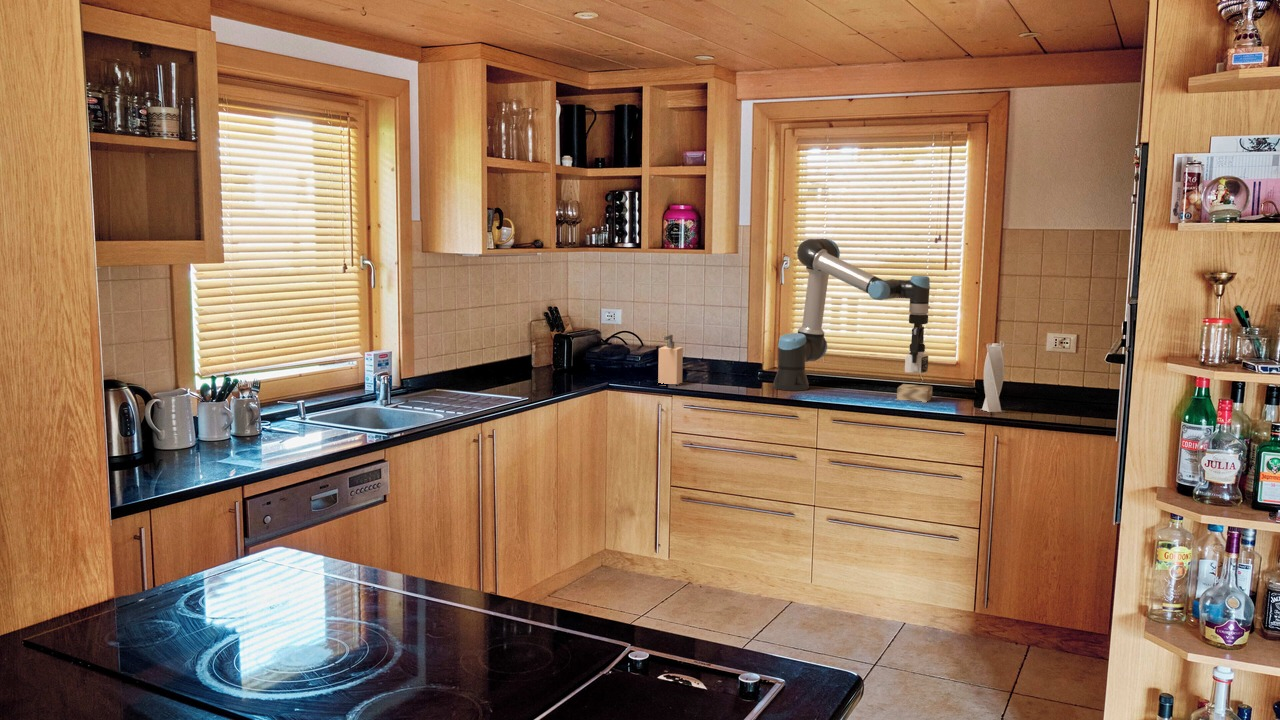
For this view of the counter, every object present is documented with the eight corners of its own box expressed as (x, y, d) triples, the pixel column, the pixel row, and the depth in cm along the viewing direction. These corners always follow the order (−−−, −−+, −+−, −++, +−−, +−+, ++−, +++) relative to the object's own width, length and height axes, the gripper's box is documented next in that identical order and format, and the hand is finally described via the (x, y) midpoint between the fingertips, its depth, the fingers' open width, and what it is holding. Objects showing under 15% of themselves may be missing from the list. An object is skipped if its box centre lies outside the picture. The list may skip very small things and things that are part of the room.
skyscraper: (1007, 413, 383) (1012, 340, 379) (988, 414, 381) (993, 340, 377) (995, 409, 391) (1000, 338, 387) (976, 410, 389) (981, 338, 386)
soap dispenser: (663, 382, 449) (664, 333, 446) (682, 383, 446) (683, 334, 443) (655, 386, 437) (655, 336, 434) (673, 387, 434) (674, 337, 431)
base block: (896, 400, 410) (897, 387, 409) (902, 395, 420) (903, 383, 420) (926, 402, 404) (927, 390, 404) (931, 398, 415) (932, 385, 414)
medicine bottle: (921, 374, 406) (922, 344, 404) (904, 372, 410) (905, 343, 408) (927, 372, 411) (929, 343, 410) (911, 370, 416) (912, 341, 414)
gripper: (923, 316, 397) (920, 373, 400) (932, 312, 415) (930, 366, 418) (904, 315, 400) (901, 371, 403) (914, 311, 418) (911, 365, 421)
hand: (916, 369), depth 411 cm, fingers closed on medicine bottle, 8 cm apart
